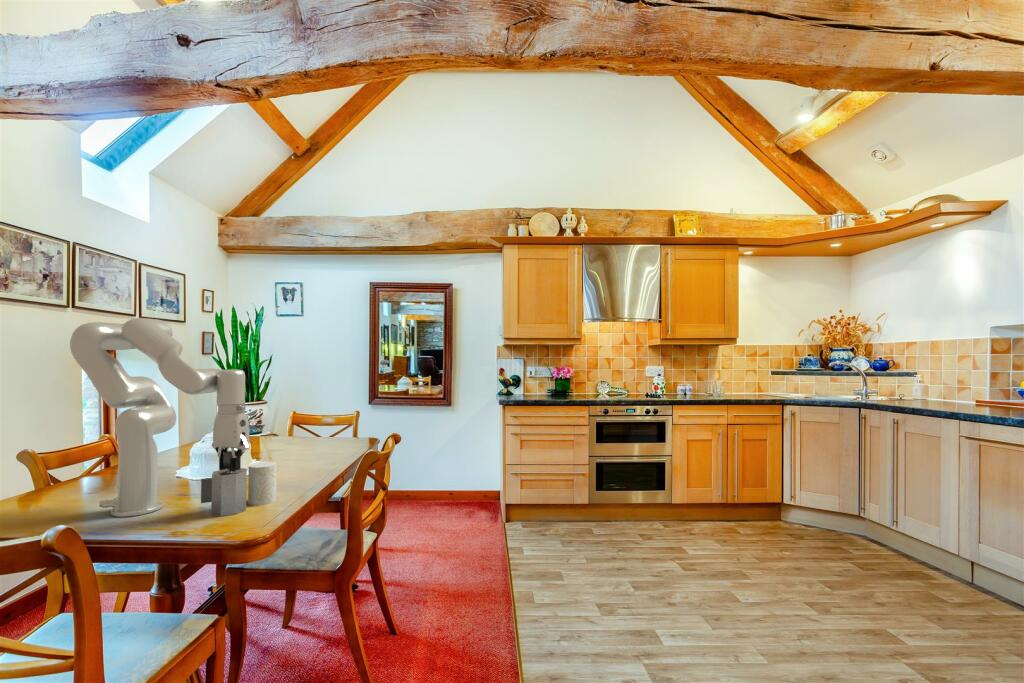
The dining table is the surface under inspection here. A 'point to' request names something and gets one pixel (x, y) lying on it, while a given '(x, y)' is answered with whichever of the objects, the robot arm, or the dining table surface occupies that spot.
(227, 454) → the plunger
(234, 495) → the octagonal faceted vessel
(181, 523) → the dining table surface
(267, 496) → the light grey cylinder
